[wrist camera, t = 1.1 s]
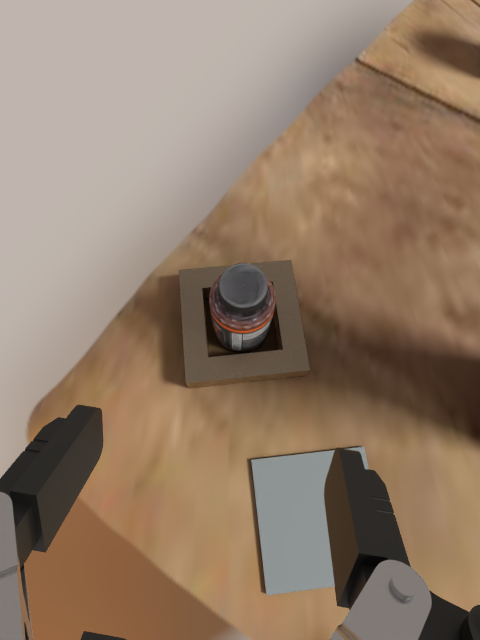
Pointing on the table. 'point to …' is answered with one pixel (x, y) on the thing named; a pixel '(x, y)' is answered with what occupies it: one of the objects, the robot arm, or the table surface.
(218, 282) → the supplement bottle
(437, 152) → the table surface
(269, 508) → the slate mat
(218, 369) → the socket block
